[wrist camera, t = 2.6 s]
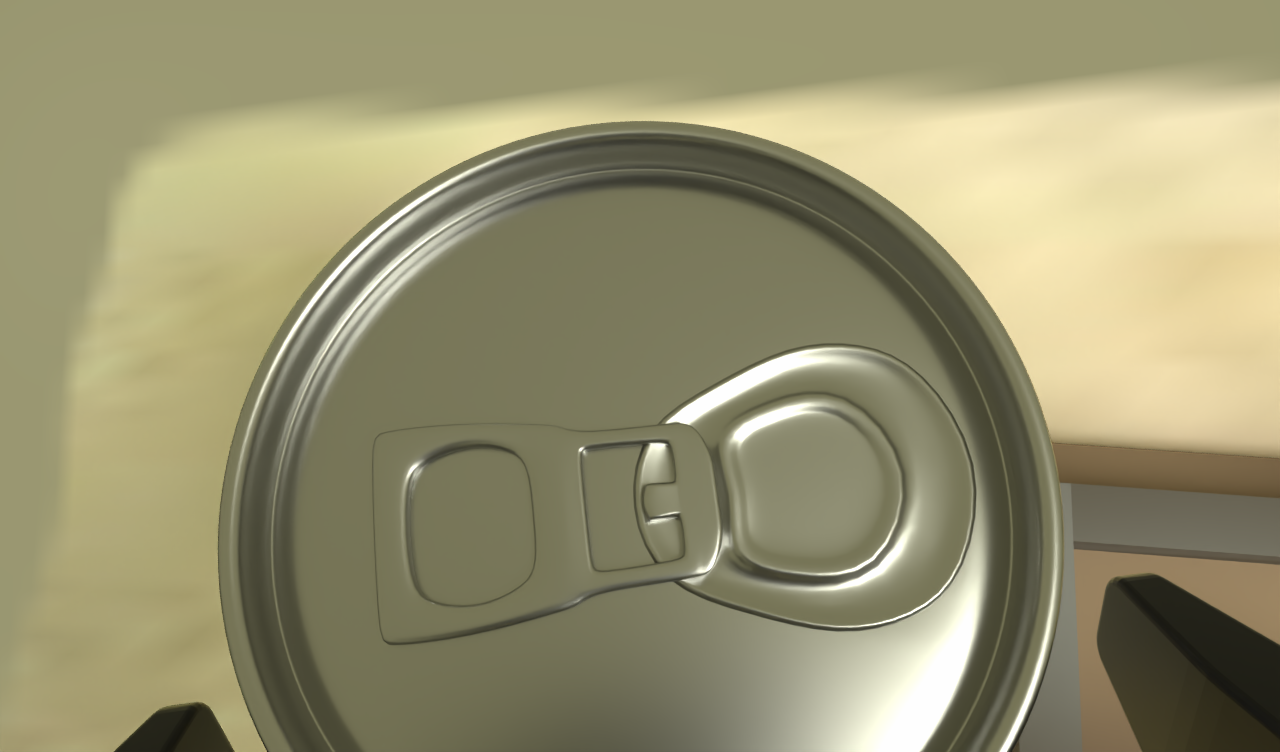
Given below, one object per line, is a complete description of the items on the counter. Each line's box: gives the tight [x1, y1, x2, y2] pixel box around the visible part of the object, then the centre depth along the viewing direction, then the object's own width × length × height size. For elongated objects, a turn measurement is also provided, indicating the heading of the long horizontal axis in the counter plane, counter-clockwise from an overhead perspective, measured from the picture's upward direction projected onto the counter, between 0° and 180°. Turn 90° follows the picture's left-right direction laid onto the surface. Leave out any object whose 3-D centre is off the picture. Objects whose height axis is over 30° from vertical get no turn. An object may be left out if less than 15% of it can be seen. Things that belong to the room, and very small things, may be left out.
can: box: [218, 121, 1064, 752], centre depth 12 cm, size 6×6×12 cm
